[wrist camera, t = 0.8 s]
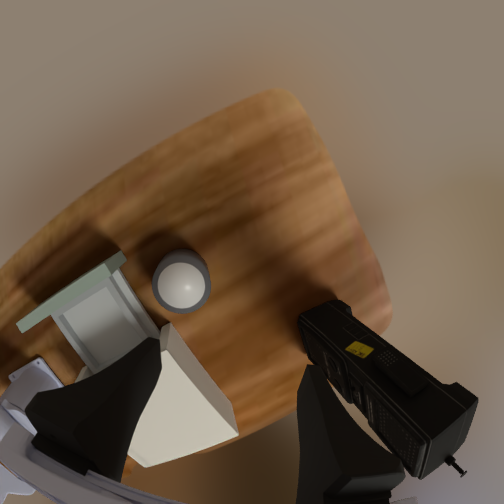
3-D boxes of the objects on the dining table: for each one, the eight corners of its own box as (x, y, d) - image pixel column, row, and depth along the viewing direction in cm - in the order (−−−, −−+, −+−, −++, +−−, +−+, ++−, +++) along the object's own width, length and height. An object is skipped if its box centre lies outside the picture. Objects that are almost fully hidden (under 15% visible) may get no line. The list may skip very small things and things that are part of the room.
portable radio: (291, 309, 33) (438, 470, 8) (336, 288, 33) (507, 403, 9) (307, 359, 34) (420, 509, 10) (347, 339, 35) (479, 461, 11)
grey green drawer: (102, 389, 29) (91, 419, 24) (39, 304, 26) (15, 323, 20) (185, 350, 31) (185, 380, 25) (121, 250, 27) (104, 262, 21)
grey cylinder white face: (174, 307, 30) (171, 323, 26) (147, 264, 28) (140, 274, 25) (217, 283, 30) (221, 296, 26) (192, 239, 29) (192, 245, 25)
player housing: (147, 436, 32) (144, 467, 26) (82, 367, 29) (67, 396, 23) (231, 403, 33) (239, 435, 28) (170, 322, 30) (166, 349, 24)
